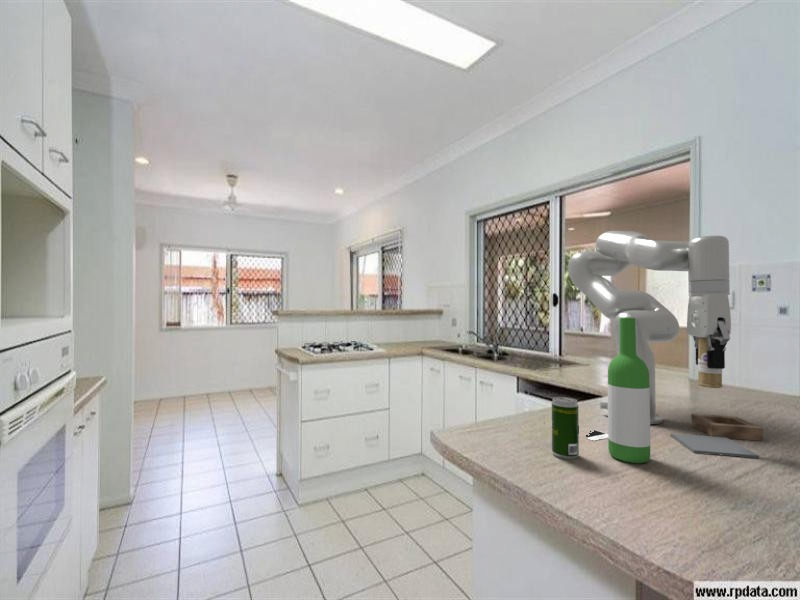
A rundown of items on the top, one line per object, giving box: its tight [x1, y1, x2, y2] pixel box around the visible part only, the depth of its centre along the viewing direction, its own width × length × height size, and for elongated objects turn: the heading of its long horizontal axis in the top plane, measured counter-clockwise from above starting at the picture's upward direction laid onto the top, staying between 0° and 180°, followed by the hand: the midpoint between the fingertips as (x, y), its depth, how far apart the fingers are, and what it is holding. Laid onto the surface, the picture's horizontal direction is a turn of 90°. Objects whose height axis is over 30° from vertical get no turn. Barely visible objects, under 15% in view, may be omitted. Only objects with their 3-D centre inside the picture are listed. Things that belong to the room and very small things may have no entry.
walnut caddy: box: [690, 413, 764, 441], centre depth 99 cm, size 10×10×3 cm
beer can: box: [551, 396, 580, 460], centre depth 83 cm, size 5×5×12 cm
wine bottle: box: [607, 318, 651, 464], centre depth 82 cm, size 8×8×30 cm
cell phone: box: [586, 429, 608, 442], centre depth 101 cm, size 8×16×1 cm, turn 25°
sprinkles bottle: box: [697, 334, 723, 389], centre depth 89 cm, size 5×5×14 cm
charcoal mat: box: [669, 433, 760, 459], centre depth 89 cm, size 12×12×1 cm
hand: (709, 365), depth 89 cm, fingers closed on sprinkles bottle, 4 cm apart
